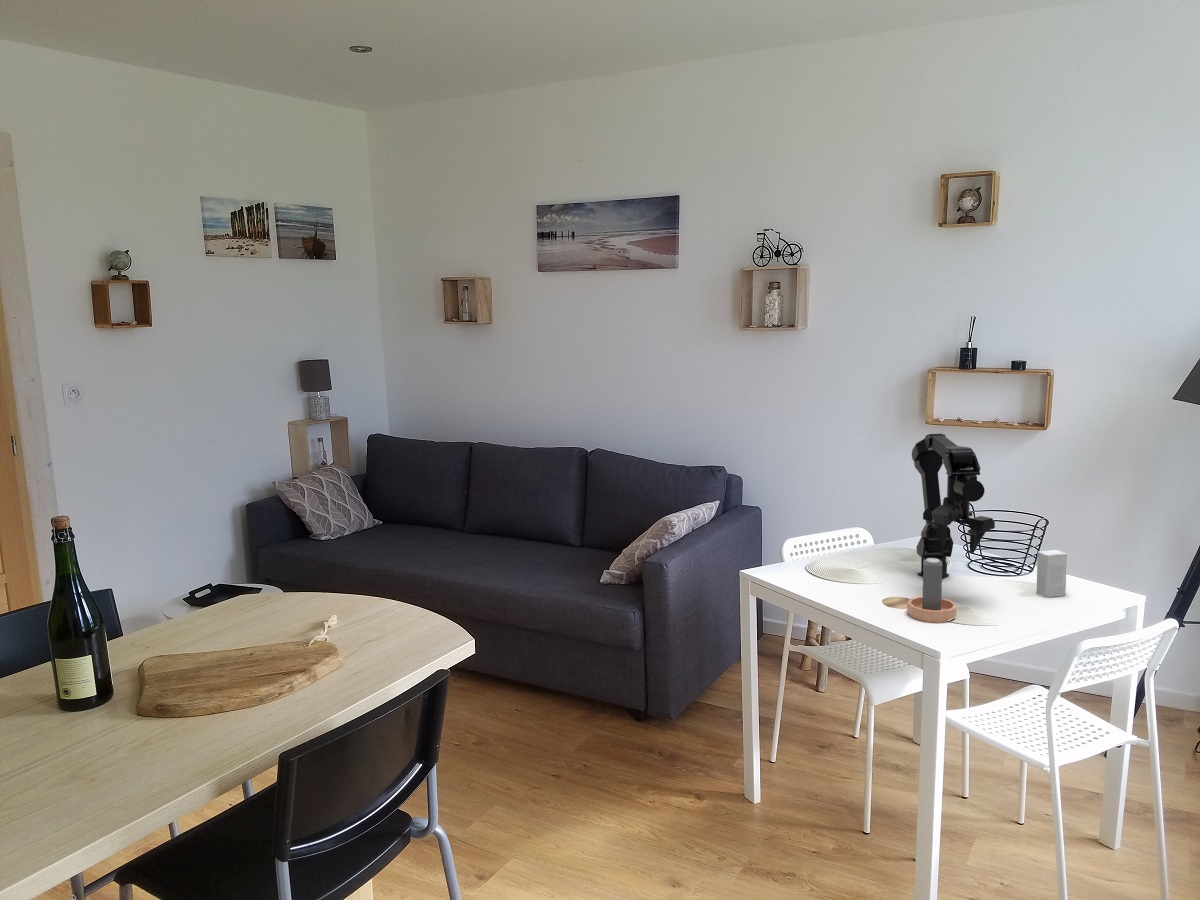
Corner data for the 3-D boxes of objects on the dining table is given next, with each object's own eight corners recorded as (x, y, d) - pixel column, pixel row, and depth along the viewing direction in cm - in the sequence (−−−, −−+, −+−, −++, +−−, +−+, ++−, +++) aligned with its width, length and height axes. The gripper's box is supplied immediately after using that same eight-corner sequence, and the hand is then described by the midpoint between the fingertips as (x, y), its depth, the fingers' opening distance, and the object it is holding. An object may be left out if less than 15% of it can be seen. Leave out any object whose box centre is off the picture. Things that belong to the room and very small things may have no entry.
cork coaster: (876, 605, 232) (876, 603, 232) (890, 596, 239) (890, 594, 238) (908, 612, 226) (908, 610, 226) (922, 603, 232) (922, 601, 232)
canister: (922, 607, 225) (923, 556, 223) (941, 609, 223) (942, 557, 221) (922, 613, 221) (923, 561, 219) (941, 614, 219) (942, 562, 217)
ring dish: (898, 613, 224) (898, 602, 224) (927, 604, 230) (927, 593, 230) (936, 626, 214) (936, 614, 214) (965, 616, 220) (965, 605, 220)
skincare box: (1055, 591, 237) (1056, 549, 235) (1065, 596, 233) (1067, 553, 231) (1035, 593, 236) (1037, 551, 234) (1045, 598, 232) (1047, 555, 230)
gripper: (910, 492, 236) (909, 547, 238) (970, 503, 220) (968, 562, 223) (936, 487, 242) (935, 540, 244) (996, 497, 226) (995, 554, 228)
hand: (957, 549), depth 235 cm, fingers open, 9 cm apart
